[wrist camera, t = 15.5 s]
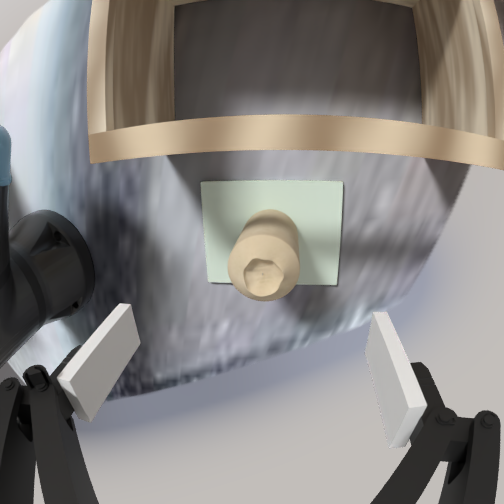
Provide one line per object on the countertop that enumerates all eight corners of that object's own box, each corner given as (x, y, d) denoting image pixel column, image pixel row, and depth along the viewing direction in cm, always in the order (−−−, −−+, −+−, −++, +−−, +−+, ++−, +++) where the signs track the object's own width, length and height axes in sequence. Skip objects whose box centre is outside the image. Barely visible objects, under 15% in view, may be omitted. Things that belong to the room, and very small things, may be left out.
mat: (209, 280, 35) (208, 282, 34) (201, 181, 31) (200, 182, 30) (336, 283, 33) (336, 285, 33) (342, 181, 29) (342, 181, 29)
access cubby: (163, 150, 30) (90, 164, 18) (161, -2, 24) (101, -52, 12) (434, 154, 27) (508, 171, 15) (422, -1, 20) (477, -49, 8)
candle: (238, 213, 31) (215, 247, 22) (292, 204, 30) (293, 235, 21) (249, 264, 33) (233, 314, 24) (301, 256, 32) (305, 306, 23)
